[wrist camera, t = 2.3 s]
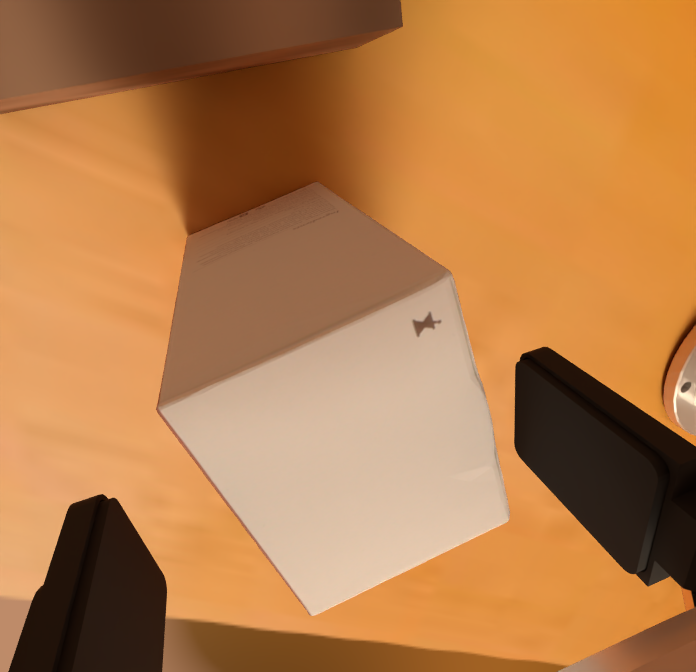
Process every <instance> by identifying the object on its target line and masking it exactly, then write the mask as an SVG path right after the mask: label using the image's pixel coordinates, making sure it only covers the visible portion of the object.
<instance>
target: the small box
mask: <svg viewBox="0 0 696 672" xmlns="http://www.w3.org/2000/svg"><path fill="white" fill-rule="evenodd" d="M156 410H157V412H158V414H159V415H160V417H161V418H162V419H163V421H164V422H165V423H166V425H167V426H168V427H169V429H170V430H171V431H172V433H173V434H174V435H175V437H176V438H177V439H178V441H179V442H180V443H181V444H182V446H183V447H184V448H185V450H186V451H187V452H188V454H189V455H190V456H191V457H192V459H193V460H194V461H195V463H196V464H197V465H198V467H199V468H200V469H201V471H202V472H203V474H204V475H205V476H206V478H207V479H208V480H209V482H210V483H211V484H212V486H213V487H214V488H215V490H216V491H217V492H218V494H219V495H220V496H221V498H222V499H223V500H224V502H225V503H226V504H227V506H228V507H229V508H230V510H231V511H232V512H233V513H234V515H235V516H236V517H237V518H238V520H239V521H240V523H241V524H242V526H243V527H244V528H245V530H246V531H247V532H248V534H249V535H250V536H251V537H252V539H253V540H254V541H255V542H256V544H257V545H258V547H259V548H260V550H261V551H262V552H263V554H264V555H265V556H266V558H267V559H268V560H269V562H270V563H271V564H272V565H273V566H274V568H275V569H276V571H277V572H278V573H279V575H280V576H281V577H282V579H283V580H284V581H285V583H286V584H287V585H288V587H289V588H290V589H291V591H292V592H293V593H294V595H295V596H296V597H297V599H298V600H299V601H300V603H301V604H302V605H303V606H304V608H305V609H306V610H307V612H308V613H309V615H311V616H313V615H317V614H319V613H321V612H323V611H325V610H327V609H329V608H331V607H333V606H335V605H338V604H340V603H342V602H344V601H346V600H348V599H350V598H352V597H354V596H356V595H358V594H360V593H362V592H364V591H366V590H368V589H370V588H372V587H375V586H377V585H379V584H381V583H383V582H385V581H387V580H389V579H391V578H393V577H395V576H397V575H399V574H401V573H404V572H406V571H408V570H410V569H412V568H414V567H416V566H418V565H420V564H422V563H424V562H426V561H428V560H430V559H432V558H434V557H436V556H438V555H440V554H442V553H444V552H446V551H449V550H451V549H453V548H455V547H457V546H459V545H461V544H463V543H465V542H467V541H469V540H471V539H473V538H475V537H477V536H479V535H481V534H483V533H485V532H487V531H489V530H491V529H494V528H496V527H498V526H500V525H502V524H505V523H506V522H507V521H509V516H510V510H509V505H508V500H507V495H506V491H505V486H504V481H503V476H502V472H501V468H500V463H499V458H498V454H497V449H496V445H495V438H494V431H493V424H492V419H491V415H490V410H489V406H488V403H487V400H486V395H485V391H484V388H483V384H482V382H481V379H480V377H479V374H478V371H477V368H476V364H475V360H474V356H473V352H472V348H471V345H470V341H469V336H468V332H467V328H466V325H465V321H464V318H463V314H462V310H461V305H460V301H459V297H458V293H457V289H456V285H455V281H454V278H453V276H452V273H451V272H450V271H449V270H448V269H446V268H445V267H443V266H442V265H440V264H439V263H437V262H436V261H434V260H433V259H431V258H430V257H428V256H427V255H425V254H424V253H422V252H421V251H420V250H418V249H417V248H415V247H414V246H412V245H411V244H409V243H408V242H406V241H405V240H403V239H402V238H400V237H399V236H397V235H396V234H394V233H393V232H391V231H390V230H388V229H387V228H385V227H384V226H382V225H381V224H379V223H378V222H376V221H375V220H373V219H372V218H370V217H369V216H367V215H366V214H365V213H363V212H362V211H360V210H358V209H357V208H355V207H354V206H352V205H351V204H349V203H348V202H346V201H345V200H343V199H342V198H340V197H339V196H338V195H336V194H335V193H333V192H332V191H331V190H329V189H328V188H326V187H325V186H323V185H322V184H321V183H319V182H315V183H312V184H310V185H308V186H305V187H303V188H300V189H298V190H296V191H294V192H291V193H289V194H287V195H284V196H282V197H279V198H277V199H275V200H273V201H270V202H268V203H266V204H263V205H261V206H259V207H256V208H254V209H252V210H249V211H247V212H244V213H242V214H240V215H237V216H235V217H232V218H230V219H228V220H225V221H223V222H220V223H218V224H215V225H213V226H211V227H208V228H206V229H203V230H201V231H199V232H196V233H194V234H191V235H189V236H188V237H187V240H186V246H185V252H184V257H183V263H182V269H181V275H180V280H179V286H178V292H177V297H176V302H175V308H174V314H173V320H172V326H171V332H170V338H169V344H168V350H167V355H166V361H165V366H164V372H163V378H162V383H161V389H160V393H159V399H158V404H157V408H156Z"/></svg>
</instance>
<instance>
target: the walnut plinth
mask: <svg viewBox="0 0 696 672" xmlns="http://www.w3.org/2000/svg"><path fill="white" fill-rule="evenodd" d="M400 27H403V23H402V12H401V2H400V0H0V114H3V113H9V112H14V111H19V110H25V109H30V108H35V107H41V106H46V105H52V104H57V103H62V102H68V101H73V100H78V99H84V98H89V97H94V96H100V95H105V94H111V93H116V92H121V91H127V90H132V89H137V88H143V87H148V86H153V85H159V84H164V83H169V82H175V81H180V80H186V79H191V78H196V77H202V76H207V75H212V74H218V73H223V72H228V71H234V70H239V69H245V68H250V67H255V66H261V65H266V64H271V63H277V62H282V61H287V60H293V59H298V58H304V57H309V56H314V55H320V54H325V53H330V52H336V51H341V50H346V49H352V48H357V47H359V46H361V45H363V44H366V43H368V42H370V41H372V40H374V39H377V38H379V37H381V36H383V35H385V34H387V33H390V32H392V31H394V30H396V29H398V28H400Z"/></svg>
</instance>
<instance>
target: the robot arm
mask: <svg viewBox="0 0 696 672" xmlns="http://www.w3.org/2000/svg"><path fill="white" fill-rule="evenodd" d="M663 400H664V405H665V411H666V413H667V414H668V416H669V418H670V420H671V421H673V422H674V423H675V424H676V425H677V426H679V427H680V428H682V429H683V430H685V431H687V432H688V433H690V434H692V435H696V325H695V326H694V327H693V328H692V330H691V331H690V332H689V334H688V335H687V336H686V338H685V339H684V340H683V342H682V344H681V345H680V347H679V349H678V351H677V352H676V354H675V356H674V358H673V360H672V362H671V365H670V367H669V370H668V372H667V376H666V380H665V384H664V398H663ZM514 444H515V449H516V451H517V454H518V455H519V457H520V458H521V459H522V460H523V461H524V463H525V464H526V465H527V466H528V467H529V468H530V469H531V470H532V471H533V472H534V473H535V474H536V475H537V477H538V478H539V479H540V480H541V481H542V482H543V483H544V484H545V485H546V486H547V487H548V488H549V489H550V491H551V492H552V493H553V494H554V495H555V496H556V497H557V498H558V499H559V500H560V501H561V502H562V503H563V505H564V506H565V507H566V508H567V509H568V510H569V511H570V512H571V513H572V514H573V515H574V516H575V517H576V519H577V520H578V521H579V522H580V523H581V524H582V525H583V526H584V527H585V528H586V529H587V530H588V531H589V533H590V534H591V535H592V536H593V537H594V538H595V539H596V540H597V541H598V542H599V543H600V544H601V545H602V547H603V548H604V549H605V550H606V551H607V552H608V553H609V554H610V555H611V556H612V557H613V558H614V559H615V560H616V562H617V563H618V564H619V565H620V566H621V567H622V568H623V569H624V570H625V571H627V572H628V573H630V574H636V575H637V576H638V577H639V578H640V579H641V580H642V581H643V582H644V583H645V584H646V585H647V586H650V585H653V584H655V583H657V582H659V581H661V580H663V579H666V578H668V577H670V576H671V577H672V578H673V579H674V580H675V581H676V582H677V583H678V584H679V585H680V586H681V588H682V594H683V599H684V604H685V609H686V612H684V613H681V614H679V615H677V616H675V617H672V618H670V619H668V620H666V621H663V622H661V623H659V624H657V625H655V626H653V627H651V628H649V629H647V630H644V631H642V632H640V633H638V634H636V635H634V636H632V637H630V638H628V639H625V640H623V641H621V642H619V643H617V644H615V645H613V646H611V647H608V648H606V649H604V650H602V651H600V652H598V653H596V654H594V655H592V656H589V657H587V658H585V659H583V660H581V661H579V662H577V663H575V664H573V665H570V666H568V667H566V668H564V669H562V670H560V671H558V672H696V446H694V445H693V444H691V443H690V442H688V441H687V440H685V439H684V438H682V437H681V436H679V435H678V434H676V433H675V432H673V431H672V430H670V429H669V428H667V427H666V426H664V425H663V424H661V423H660V422H658V421H657V420H656V419H654V418H653V417H651V416H650V415H648V414H647V413H645V412H644V411H642V410H641V409H639V408H638V407H636V406H635V405H633V404H632V403H630V402H629V401H627V400H626V399H624V398H623V397H621V396H620V395H618V394H617V393H616V392H614V391H613V390H611V389H610V388H608V387H607V386H605V385H604V384H602V383H601V382H599V381H598V380H596V379H595V378H593V377H592V376H590V375H589V374H587V373H586V372H584V371H583V370H581V369H580V368H578V367H577V366H576V365H574V364H573V363H571V362H570V361H568V360H567V359H565V358H564V357H562V356H561V355H559V354H558V353H556V352H555V351H553V350H552V349H550V348H548V347H542V348H539V349H536V350H533V351H530V352H527V353H524V354H522V356H521V357H520V361H519V362H517V364H516V369H515V437H514ZM166 600H167V586H166V581H165V577H164V575H163V573H162V571H161V570H160V568H159V567H158V565H157V563H156V562H155V560H154V558H153V557H152V555H151V554H150V552H149V550H148V549H147V547H146V545H145V544H144V542H143V541H142V539H141V537H140V536H139V534H138V532H137V531H136V529H135V528H134V526H133V524H132V523H131V521H130V519H129V518H128V516H127V515H126V513H125V511H124V510H123V508H122V506H121V505H120V503H119V502H118V500H117V499H116V498H111V499H108V498H107V497H106V496H105V495H103V494H101V495H97V496H94V497H91V498H88V499H85V500H82V501H79V502H76V503H73V504H72V505H70V507H69V509H68V511H67V514H66V517H65V520H64V523H63V526H62V529H61V532H60V535H59V539H58V542H57V545H56V548H55V551H54V554H53V557H52V560H51V563H50V566H49V570H48V573H47V576H46V579H45V582H44V585H43V586H41V587H40V588H39V589H38V591H37V592H36V594H35V596H34V598H33V600H32V603H31V606H30V609H29V612H28V615H27V618H26V621H25V624H24V627H23V630H22V633H21V636H20V639H19V642H18V645H17V648H16V651H15V654H14V657H13V660H12V663H11V666H10V669H9V672H162V663H163V647H164V631H165V616H166Z"/></svg>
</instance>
